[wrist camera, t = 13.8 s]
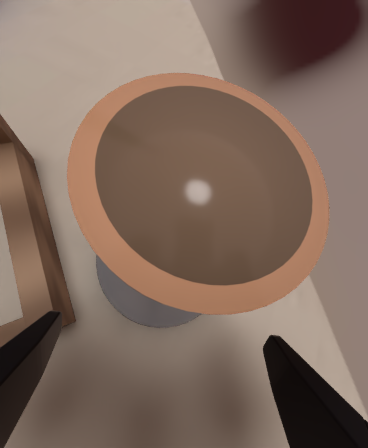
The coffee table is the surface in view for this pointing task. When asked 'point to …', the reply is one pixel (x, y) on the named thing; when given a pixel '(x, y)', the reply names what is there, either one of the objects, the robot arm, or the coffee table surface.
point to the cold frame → (29, 238)
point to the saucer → (138, 302)
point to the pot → (198, 193)
